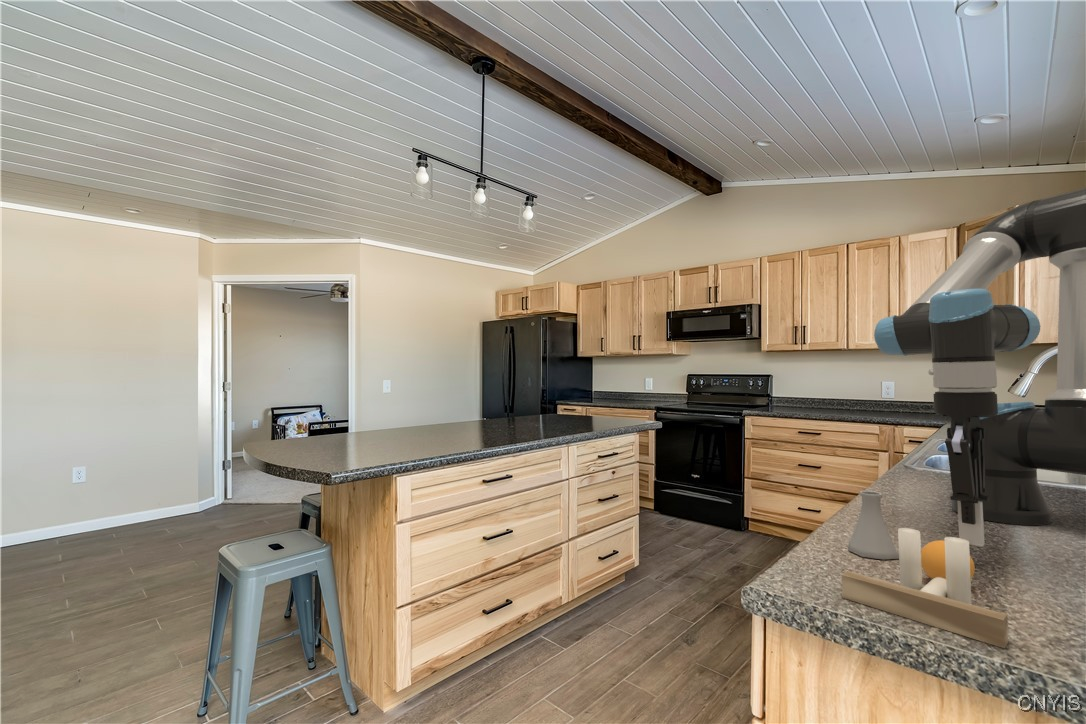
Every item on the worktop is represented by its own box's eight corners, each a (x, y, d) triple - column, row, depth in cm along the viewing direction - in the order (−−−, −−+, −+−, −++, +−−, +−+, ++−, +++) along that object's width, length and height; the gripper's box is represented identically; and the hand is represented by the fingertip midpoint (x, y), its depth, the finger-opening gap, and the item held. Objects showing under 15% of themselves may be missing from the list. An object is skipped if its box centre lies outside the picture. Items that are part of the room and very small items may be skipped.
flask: (908, 562, 78) (906, 498, 78) (857, 559, 79) (855, 497, 80) (886, 547, 85) (884, 488, 85) (840, 544, 87) (838, 487, 87)
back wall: (848, 593, 67) (847, 571, 67) (1008, 642, 55) (1007, 614, 55) (842, 597, 66) (841, 574, 66) (1004, 648, 53) (1003, 620, 54)
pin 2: (949, 601, 64) (947, 535, 65) (973, 608, 63) (971, 540, 63) (944, 607, 63) (942, 539, 63) (969, 614, 61) (966, 544, 61)
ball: (912, 578, 70) (927, 580, 73) (967, 591, 65) (980, 592, 68) (913, 534, 71) (927, 537, 74) (967, 544, 66) (980, 547, 70)
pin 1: (903, 589, 68) (901, 526, 69) (925, 594, 66) (922, 530, 67) (898, 594, 67) (895, 530, 67) (919, 600, 65) (916, 534, 65)
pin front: (931, 574, 67) (910, 591, 62) (953, 581, 65) (934, 600, 60) (930, 591, 67) (909, 610, 62) (952, 599, 66) (933, 619, 60)
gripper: (945, 388, 84) (952, 528, 83) (921, 392, 76) (929, 547, 75) (1005, 388, 78) (1013, 539, 78) (986, 392, 70) (995, 561, 70)
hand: (971, 543), depth 76 cm, fingers closed
